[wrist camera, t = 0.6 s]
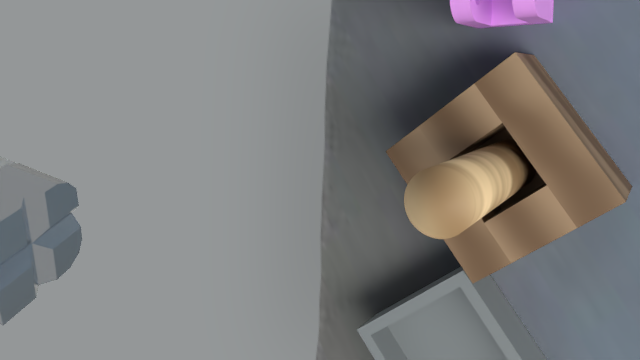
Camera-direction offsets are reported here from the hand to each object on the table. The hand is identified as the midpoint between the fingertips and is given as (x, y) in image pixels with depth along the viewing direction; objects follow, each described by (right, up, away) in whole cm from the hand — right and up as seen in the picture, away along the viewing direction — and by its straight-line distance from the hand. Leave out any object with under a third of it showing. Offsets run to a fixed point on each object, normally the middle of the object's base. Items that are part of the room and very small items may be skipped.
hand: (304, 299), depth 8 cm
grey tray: (+13, -13, +41) cm, 45 cm away
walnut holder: (+16, +3, +36) cm, 40 cm away
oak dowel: (+15, +3, +35) cm, 39 cm away
